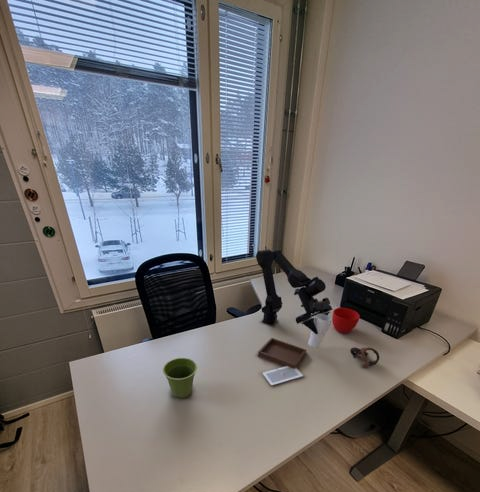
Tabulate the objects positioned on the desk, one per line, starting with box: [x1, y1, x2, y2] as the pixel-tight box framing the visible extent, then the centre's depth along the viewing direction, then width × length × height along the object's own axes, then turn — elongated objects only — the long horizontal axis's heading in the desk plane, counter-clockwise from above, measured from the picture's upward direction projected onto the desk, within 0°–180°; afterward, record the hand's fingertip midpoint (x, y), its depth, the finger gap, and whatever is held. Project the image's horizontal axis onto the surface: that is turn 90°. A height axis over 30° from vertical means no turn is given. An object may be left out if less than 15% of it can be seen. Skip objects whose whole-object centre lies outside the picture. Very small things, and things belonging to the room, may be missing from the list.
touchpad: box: [261, 366, 304, 386], centre depth 109 cm, size 8×15×2 cm, turn 113°
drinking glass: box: [308, 314, 332, 349], centre depth 120 cm, size 7×7×15 cm
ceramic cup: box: [331, 306, 361, 334], centre depth 142 cm, size 13×17×10 cm
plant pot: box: [162, 357, 198, 399], centre depth 97 cm, size 12×12×11 cm
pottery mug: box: [349, 346, 380, 369], centre depth 118 cm, size 12×10×8 cm
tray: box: [257, 337, 307, 369], centre depth 121 cm, size 18×14×2 cm
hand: (322, 331), depth 118 cm, fingers closed on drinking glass, 7 cm apart
